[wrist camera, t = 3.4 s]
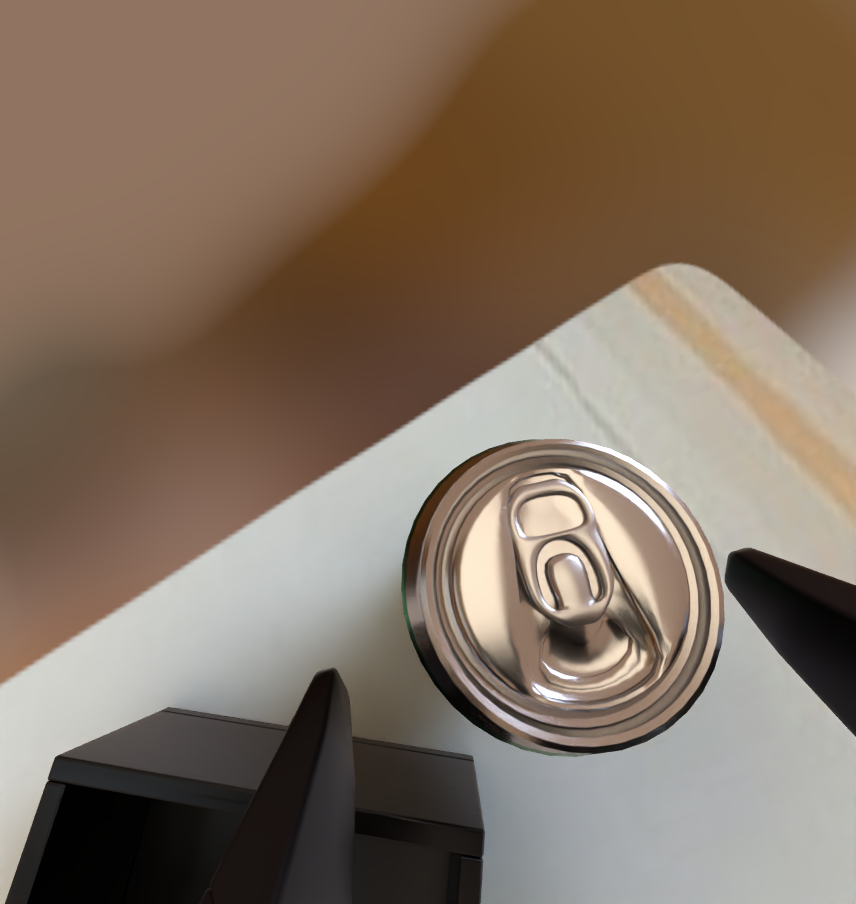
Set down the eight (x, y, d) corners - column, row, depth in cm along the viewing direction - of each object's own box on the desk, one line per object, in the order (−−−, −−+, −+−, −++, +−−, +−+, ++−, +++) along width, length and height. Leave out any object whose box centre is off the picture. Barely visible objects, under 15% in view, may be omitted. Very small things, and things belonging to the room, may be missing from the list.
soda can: (443, 662, 16) (434, 836, 5) (417, 537, 18) (366, 452, 7) (565, 633, 16) (830, 740, 5) (529, 512, 18) (668, 386, 7)
